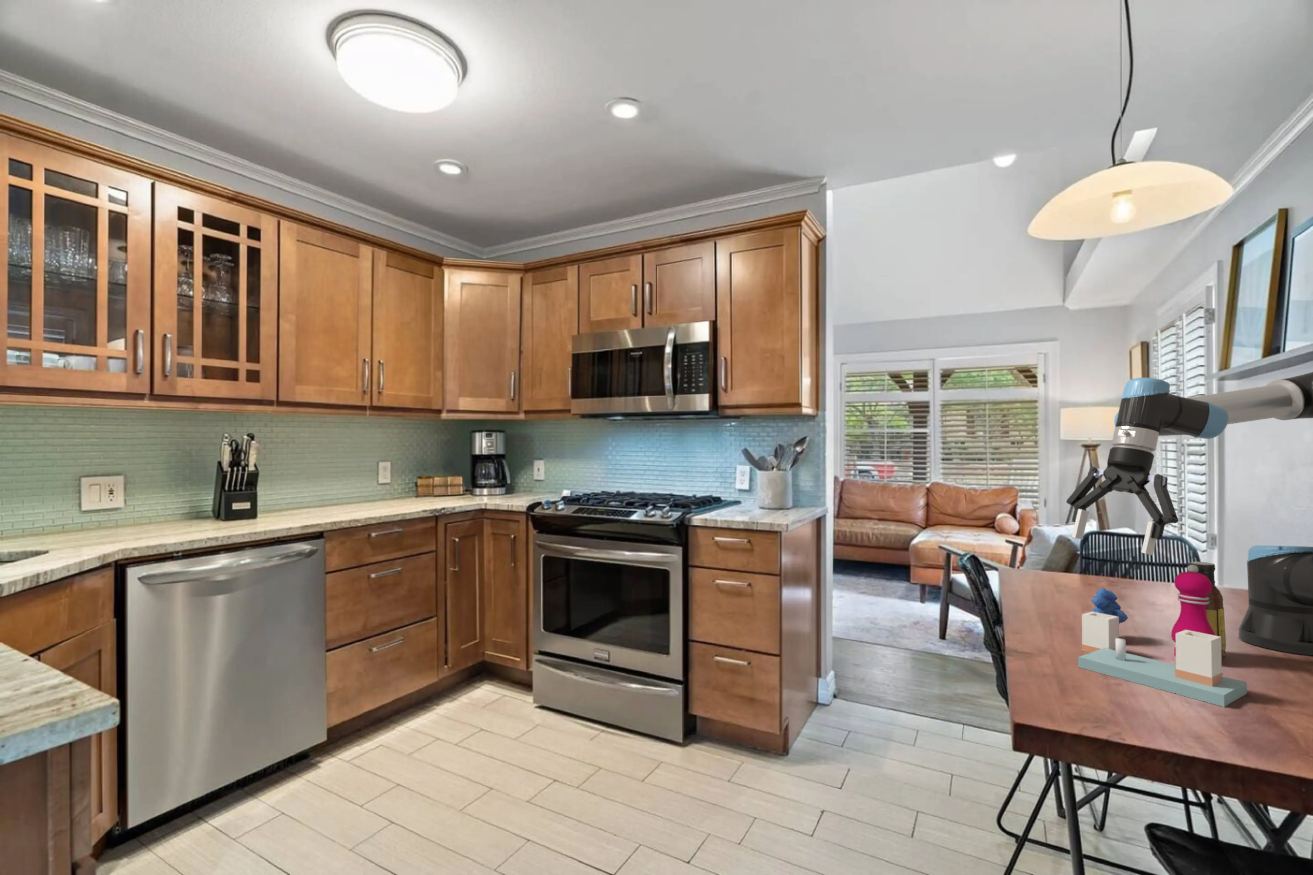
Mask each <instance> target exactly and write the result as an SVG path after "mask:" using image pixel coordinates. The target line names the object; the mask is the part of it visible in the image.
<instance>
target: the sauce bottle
mask: <svg viewBox="0 0 1313 875" xmlns="http://www.w3.org/2000/svg"><path fill="white" fill-rule="evenodd" d="M1189 565H1195V566H1197V567H1198V572H1197V573H1200V574H1203V575H1205V576H1206V577H1208V578H1209V579H1210V581H1211V583H1212V590H1211V592H1210V593H1209V594H1207V597H1209V599H1208V600H1209V601H1208V602H1209V604H1207V605H1206V616H1207V620H1208V622H1209V624H1210V626H1211V628H1212V629H1213V631H1214V633H1215V636H1220V637H1221V658H1224V657H1226V654H1227V653H1226V649H1227V641H1226V640H1227V638H1226V622H1225V607H1224V598H1223V594H1222V593H1221V591H1220V590H1219V589H1218V587H1217V586H1216V580H1215V579H1216V578H1215V571H1216V565H1215V563H1212V562H1206V561H1191V562H1190V564H1189Z"/></svg>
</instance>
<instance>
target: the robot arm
mask: <svg viewBox="0 0 1313 875" xmlns="http://www.w3.org/2000/svg"><path fill="white" fill-rule="evenodd" d="M1170 388H1171V385H1170V383H1169V382H1168V381H1165V379H1159V378H1153V377H1135V378H1131V379H1129V380H1127V381H1126V383H1125V386H1124V388H1123V392H1122V395H1121V397H1120V400H1121V401H1120V405H1119V409H1118V412H1117V413H1116V414H1115V416H1114V420H1113V421H1114V427H1115V428H1114V431H1113V435H1112V436H1113V437H1112V439H1111V440H1112V441H1111V446H1112V447H1111V448H1110V449H1109V453H1108V457H1107V466H1106V468H1105V469H1102V468H1098V467H1096V466H1090V468H1089V469H1088V472H1087V475H1086V476H1085V478H1084V479H1083V480H1082V481H1081V482H1080V484H1079V485H1078V486H1077V487H1076V488H1075V490H1074V491H1073V492H1072V493H1071V494H1070V495H1069V497H1068V498H1067V499H1066V503H1067V504H1068V505H1070V506H1071V507H1073V508H1074V510H1073V514H1072V518H1071V521H1072V523H1074V526H1073V530H1072V535H1071V537H1072V538H1074V539H1078V540H1084V535H1085V531H1086V527H1087V523H1088V519H1089V518H1088V517H1089V513H1090V511H1088V510H1087V509H1088V508H1089V507H1091V506H1092V505H1093V504H1095V503H1096V502H1097V501H1098V500H1100V499H1101V498H1102V497H1103V498H1104V497H1105V495H1108V494H1109V493H1111V492H1113V491H1116V492H1120V493H1122V492H1123V493H1124V492H1125V493H1129V494H1134V495H1136V497H1137V498H1138V499H1139V501H1140V502H1141V504H1142V506H1143V507H1144V508H1145V511H1147V513H1148V514H1149V516H1150V518H1151V519H1152V520H1151V521H1148V522H1147V526H1146V530H1145V535H1144V540H1143V544H1142V548H1141V551H1140V552H1141V553H1143V554H1145V555H1149V556H1154V552H1155V548H1156V544H1157V540H1159V541H1161V540H1162V539H1163V534H1164V530H1165V527H1166V525H1168V524H1177V523H1178V522H1179V518H1178V515H1177V513H1176V510H1175V507H1174V503H1173V501H1172V499H1171V496H1170V492H1169V490H1168V477H1167V476H1165V475H1162V474H1159V473H1157V474H1155V475H1153V474H1152V475H1151V474H1150V472H1151V470H1152V467H1153V464H1154V463H1153V462H1154V459H1155V454H1154V453H1153V452H1155V451H1156V450H1157V445H1158V441H1159V436H1160V437H1165V436H1166V437H1167V436H1190V437H1193V438H1195V439H1196V438H1199V439H1207V440H1208V439H1214V438H1216V437H1218V436H1220V435H1221V434H1222V433H1223V432H1224V431H1225V430H1226V428H1227V427H1228V425H1232V424H1241V423H1246V422H1254V421H1260V420H1267V419H1273V418H1274V419H1276V420H1279V421H1291V420H1298V419H1313V371H1312V372H1308V373H1304V374H1301V375H1295V376H1291V377H1286V378H1281V379H1275V380H1272V381H1270V382H1269V383H1267V384H1266V385H1263V386H1258V387H1257V386H1256V387H1251V388H1246V389H1245V388H1244V389H1243V388H1242V389H1237V390H1231V391H1230V390H1229V391H1225V392H1218V393H1217V392H1216V393H1212V394H1211V393H1210V394H1206V395H1199V396H1192V397H1183V396H1180V395H1175V394H1174V393H1173V394H1172V393H1171V392H1170V391H1171V390H1170ZM1103 477H1104V480H1103V481H1101V482H1100V483H1099V484H1098V485H1097V487H1095V485H1096V484H1097V483H1098V482H1099V480H1100V479H1102V478H1103ZM1149 483H1151V485H1152V486H1153V489H1154V492H1155V494H1156V497H1157V500H1158V501H1157V502H1158V503H1159V506H1160V509H1161V510H1160V509H1159V507H1158V506H1157V504H1156V502H1155V501H1154V499H1152V497H1151V495H1150V493H1149V491H1148V490H1147V488H1146V486H1147V484H1149ZM1094 487H1095V488H1094ZM1093 488H1094V489H1093ZM1092 489H1093V490H1092ZM1247 552H1248V553H1247V560H1246V565H1247V567H1246V568H1247V587H1248V588H1247V589H1248V590H1247V593H1248V595H1247V596H1248V608H1247V610H1246V612H1245V614H1244V616H1243V618H1242V620H1241V623H1240V625H1239V628H1238V639H1239V640H1241V641H1242V642H1245V643H1247V644H1250V645H1254V646H1258V647H1261V648H1265V649H1270V650H1275V651H1280V652H1285V653H1290V654H1298V655H1306V656H1313V546H1308V545H1307V546H1306V545H1305V546H1304V545H1303V546H1301V545H1299V546H1298V545H1296V546H1294V545H1252V546H1251V547H1250V548H1249V549H1248V551H1247Z"/></svg>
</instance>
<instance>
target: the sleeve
mask: <svg viewBox="0 0 1313 875" xmlns="http://www.w3.org/2000/svg"><path fill="white" fill-rule="evenodd" d="M1115 638H1120V624H1119V617H1117V616H1112V615H1107V614H1102V613H1097V612H1091V611H1089V612H1084V613H1082V614H1081V647H1080V648H1081V652H1084V653H1087V654H1088V653H1091V652H1094V651H1097V650H1100V649H1103V648H1107V649H1112V650H1116V644H1115Z"/></svg>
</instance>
